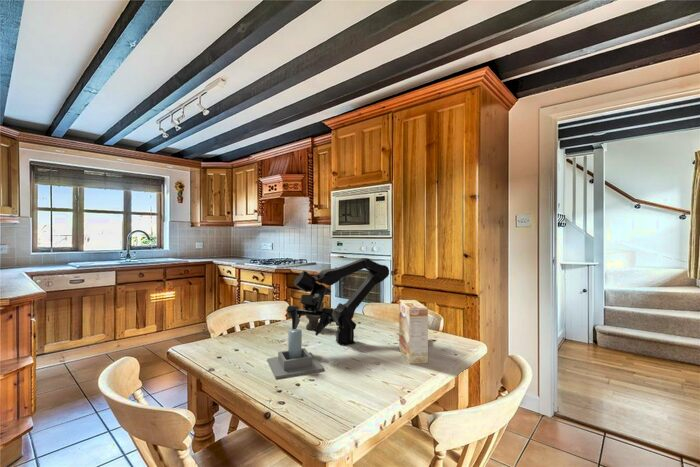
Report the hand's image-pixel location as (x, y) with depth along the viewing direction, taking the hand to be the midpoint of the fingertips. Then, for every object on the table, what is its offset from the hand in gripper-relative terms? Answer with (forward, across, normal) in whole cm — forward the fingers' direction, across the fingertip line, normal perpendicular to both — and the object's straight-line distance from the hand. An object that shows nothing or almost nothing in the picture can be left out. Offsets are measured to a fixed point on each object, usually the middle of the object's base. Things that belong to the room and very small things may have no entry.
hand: (304, 333), depth 117 cm
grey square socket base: (+11, 0, +1) cm, 11 cm away
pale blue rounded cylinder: (+11, 0, +1) cm, 11 cm away
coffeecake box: (-4, +37, +16) cm, 41 cm away
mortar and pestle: (-19, -11, +32) cm, 39 cm away
